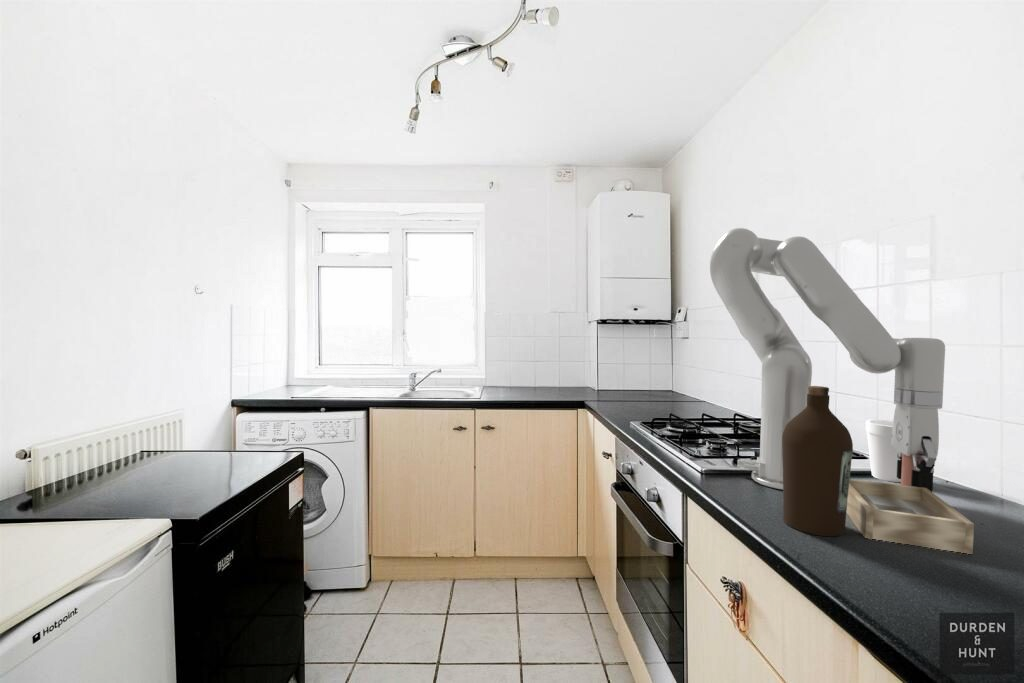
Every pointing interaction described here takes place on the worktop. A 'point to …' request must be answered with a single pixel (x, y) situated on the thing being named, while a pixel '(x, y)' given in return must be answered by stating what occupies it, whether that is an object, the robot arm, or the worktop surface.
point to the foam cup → (882, 450)
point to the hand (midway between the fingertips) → (913, 484)
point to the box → (907, 516)
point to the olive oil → (816, 468)
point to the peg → (907, 469)
